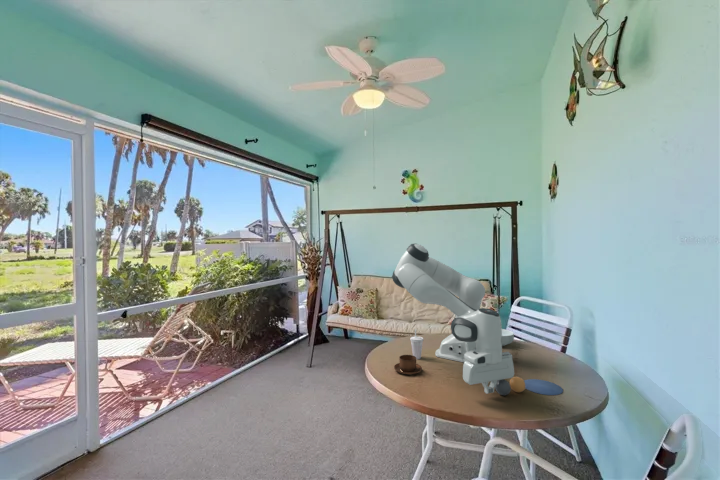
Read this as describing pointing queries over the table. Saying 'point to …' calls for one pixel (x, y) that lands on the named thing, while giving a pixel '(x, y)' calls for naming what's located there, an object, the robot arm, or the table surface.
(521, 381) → the orange ball
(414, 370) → the cup and saucer
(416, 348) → the smoothie
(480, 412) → the table surface
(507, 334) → the cereal bowl
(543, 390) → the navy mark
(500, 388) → the charcoal ball
